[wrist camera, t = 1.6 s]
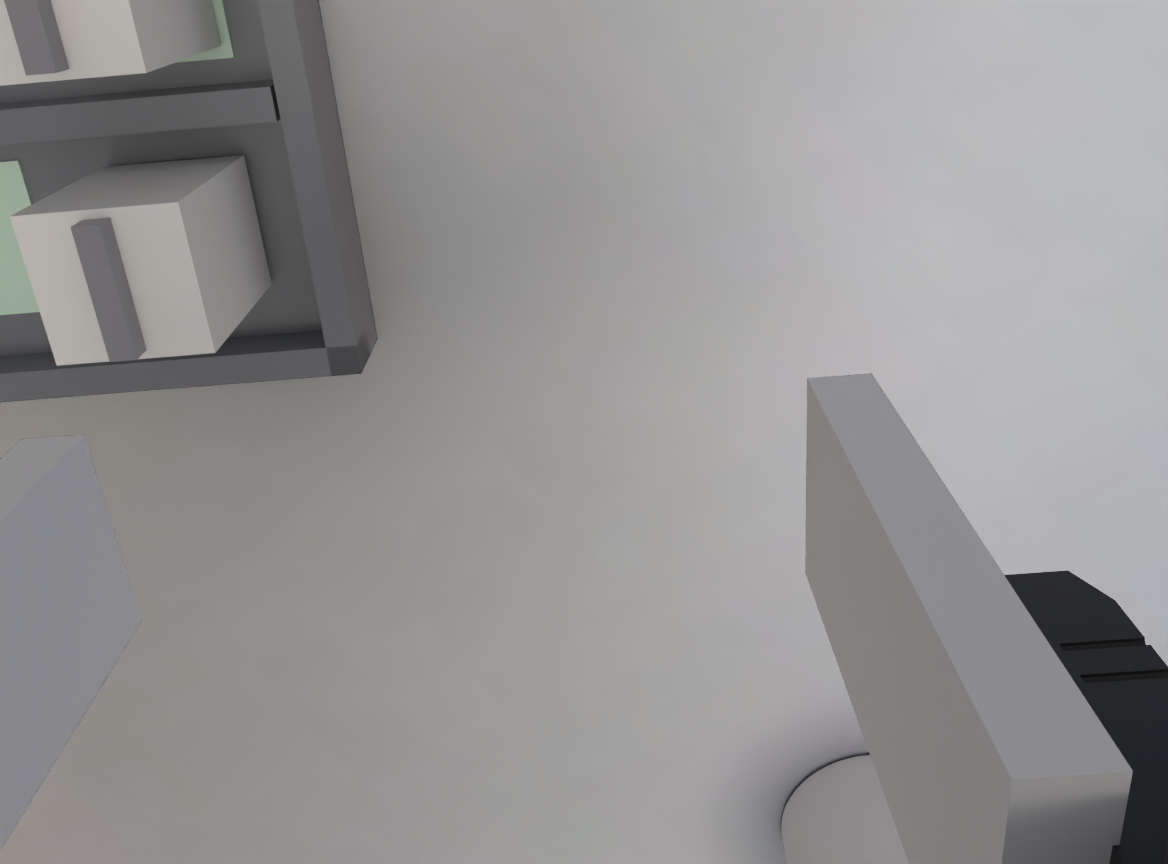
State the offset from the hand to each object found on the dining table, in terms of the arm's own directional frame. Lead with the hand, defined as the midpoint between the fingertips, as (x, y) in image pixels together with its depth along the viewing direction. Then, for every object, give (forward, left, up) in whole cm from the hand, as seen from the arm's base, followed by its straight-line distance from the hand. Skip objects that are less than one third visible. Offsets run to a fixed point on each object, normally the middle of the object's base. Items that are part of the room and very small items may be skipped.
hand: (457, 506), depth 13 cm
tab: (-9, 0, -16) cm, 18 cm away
